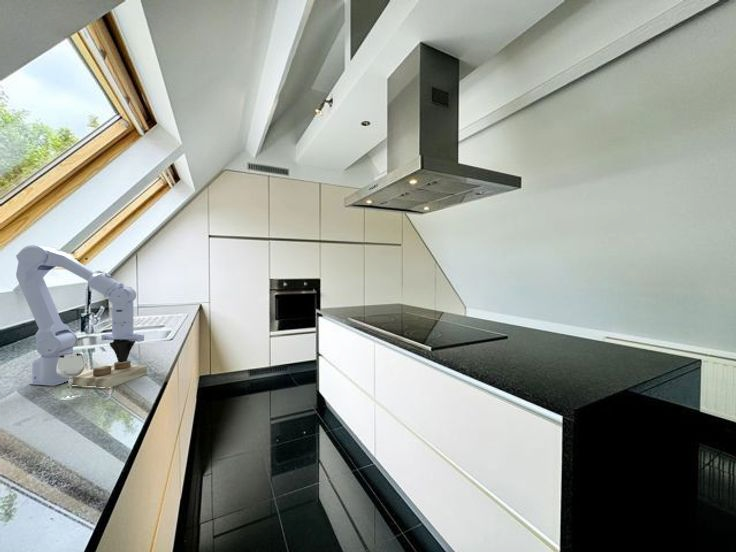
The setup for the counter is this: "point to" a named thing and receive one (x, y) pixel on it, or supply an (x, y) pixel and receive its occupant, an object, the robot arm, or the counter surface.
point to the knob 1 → (102, 370)
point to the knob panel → (110, 376)
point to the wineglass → (70, 368)
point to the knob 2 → (122, 365)
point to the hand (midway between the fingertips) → (122, 361)
